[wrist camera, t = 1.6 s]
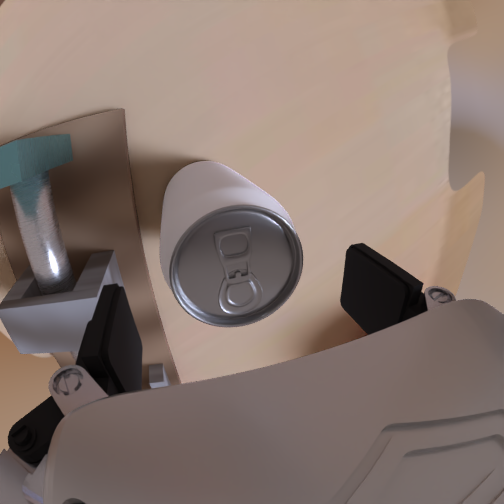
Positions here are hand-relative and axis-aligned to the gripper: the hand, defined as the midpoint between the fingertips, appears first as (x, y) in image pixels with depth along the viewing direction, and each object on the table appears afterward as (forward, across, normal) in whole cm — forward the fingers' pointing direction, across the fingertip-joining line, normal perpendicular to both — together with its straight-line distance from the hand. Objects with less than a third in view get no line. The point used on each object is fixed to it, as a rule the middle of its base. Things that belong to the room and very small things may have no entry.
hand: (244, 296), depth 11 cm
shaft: (+11, +12, +1) cm, 16 cm away
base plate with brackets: (+13, +12, +8) cm, 20 cm away
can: (+13, 0, -1) cm, 13 cm away
